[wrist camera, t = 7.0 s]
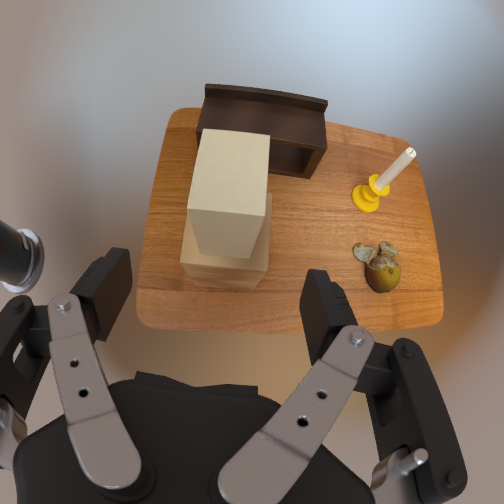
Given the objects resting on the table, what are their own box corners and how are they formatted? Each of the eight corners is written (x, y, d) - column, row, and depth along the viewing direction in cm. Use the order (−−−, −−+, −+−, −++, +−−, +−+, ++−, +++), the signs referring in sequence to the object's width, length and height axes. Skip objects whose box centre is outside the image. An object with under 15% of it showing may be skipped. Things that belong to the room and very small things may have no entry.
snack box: (199, 253, 25) (186, 208, 16) (208, 194, 27) (203, 128, 17) (249, 258, 26) (265, 216, 16) (254, 199, 27) (270, 135, 18)
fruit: (392, 241, 43) (404, 234, 40) (402, 289, 41) (414, 285, 38) (350, 244, 42) (361, 237, 39) (360, 297, 40) (371, 294, 37)
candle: (363, 218, 44) (415, 171, 29) (345, 192, 45) (390, 138, 30) (383, 206, 45) (435, 160, 30) (366, 181, 46) (411, 130, 31)
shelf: (199, 166, 43) (194, 121, 33) (207, 129, 46) (205, 83, 35) (309, 179, 45) (332, 139, 34) (308, 141, 47) (327, 100, 36)
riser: (194, 285, 38) (179, 262, 25) (201, 231, 40) (192, 184, 27) (252, 291, 39) (267, 271, 25) (256, 236, 41) (272, 192, 28)
